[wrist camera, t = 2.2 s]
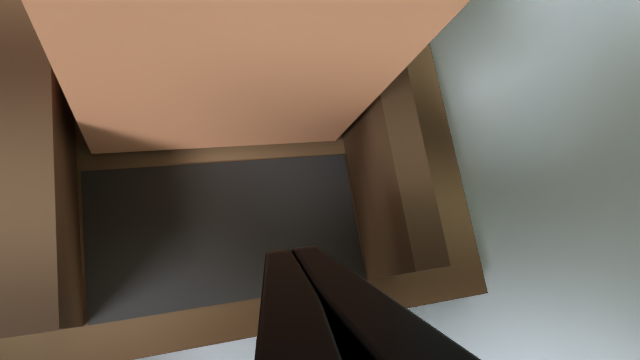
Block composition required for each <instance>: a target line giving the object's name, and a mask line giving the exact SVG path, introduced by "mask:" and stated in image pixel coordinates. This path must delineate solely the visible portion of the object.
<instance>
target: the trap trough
mask: <svg viewBox="0 0 640 360" xmlns="http://www.w3.org/2000/svg"><path fill="white" fill-rule="evenodd" d="M307 246H316V247H318V248H319V249H321V250H322V251H324V252H325V253H327V254H328V255H330V256H331V257H332V258H334V259H335V260H337V261H338V262H340V263H341V264H343V265H344V266H346V267H347V268H348V269H350V270H351V271H353V272H354V273H356V274H357V275H359V276H360V277H362V278H363V279H364V280H366V281H367V282H369V283H370V284H372V285H373V286H375V287H376V288H377V289H379V290H380V291H382V292H383V293H385V294H386V295H388V296H389V297H391V298H392V299H393V300H395V301H396V302H398V303H399V304H401V305H402V306H404V307H405V308H410V307H416V306H421V305H426V304H432V303H437V302H442V301H448V300H453V299H458V298H464V297H469V296H474V295H480V294H485V293H488V292H487V287H486V283H485V279H484V275H483V270H482V266H481V262H480V258H479V253H478V249H477V245H476V240H475V236H474V232H473V228H472V223H471V219H470V215H469V211H468V206H467V202H466V198H465V194H464V189H463V185H462V181H461V176H460V172H459V168H458V164H457V159H456V155H455V151H454V147H453V142H452V138H451V134H450V130H449V125H448V121H447V117H446V112H445V108H444V104H443V100H442V95H441V91H440V87H439V83H438V78H437V74H436V70H435V65H434V61H433V57H432V53H431V48H430V44H428V45H427V46H426V47H425V48H424V49H423V50H422V51H421V52H420V53H419V54H418V55H417V56H416V57H415V58H414V59H413V61H412V62H411V63H410V64H409V65H408V66H407V67H406V68H405V69H404V70H403V71H402V72H401V73H400V74H399V75H398V76H397V77H396V78H395V79H394V80H393V81H392V82H391V83H390V84H389V86H388V87H387V88H386V89H385V90H384V91H383V92H382V93H381V94H380V95H379V96H378V97H377V98H376V99H375V100H374V101H373V102H372V103H371V104H370V105H369V106H368V107H367V108H366V109H365V110H364V112H363V113H362V114H361V115H360V116H359V117H358V118H357V119H356V120H355V121H354V122H353V123H352V124H351V125H350V126H349V127H348V128H347V129H346V130H345V131H344V132H343V133H342V134H341V135H340V137H339V138H338V139H337V140H336V141H324V142H306V143H287V144H268V145H250V146H231V147H212V148H194V149H175V150H156V151H138V152H119V153H100V154H91V152H90V150H89V148H88V146H87V143H86V141H85V139H84V137H83V135H82V132H81V130H80V128H79V126H78V124H77V121H76V119H75V117H74V115H73V113H72V110H71V108H70V106H69V104H68V102H67V99H66V97H65V95H64V93H63V91H62V88H61V86H60V84H59V82H58V80H57V78H56V75H55V73H54V71H53V69H52V67H51V64H50V62H49V60H48V58H47V56H46V53H45V51H44V49H43V47H42V45H41V42H40V40H39V38H38V36H37V34H36V31H35V29H34V27H33V25H32V23H31V20H30V18H29V16H28V14H27V12H26V10H25V7H24V5H23V3H22V1H21V0H0V360H133V359H139V358H144V357H149V356H155V355H160V354H165V353H171V352H176V351H181V350H187V349H192V348H197V347H203V346H208V345H213V344H219V343H224V342H229V341H235V340H240V339H245V338H251V337H256V336H257V331H258V322H259V312H260V302H261V293H262V283H263V274H264V264H265V255H266V253H267V252H269V251H276V250H284V249H288V250H291V251H292V250H293V249H294V248H299V247H307Z"/></svg>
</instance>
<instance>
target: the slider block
mask: <svg viewBox="0 0 640 360" xmlns="http://www.w3.org/2000/svg"><path fill="white" fill-rule="evenodd" d="M21 1H22V3H23V5H24V7H25V10H26V12H27V14H28V16H29V18H30V20H31V23H32V25H33V27H34V29H35V31H36V34H37V36H38V38H39V40H40V42H41V45H42V47H43V49H44V51H45V53H46V56H47V58H48V60H49V62H50V64H51V67H52V69H53V71H54V73H55V75H56V78H57V80H58V82H59V84H60V86H61V88H62V91H63V93H64V95H65V97H66V99H67V102H68V104H69V106H70V108H71V110H72V113H73V115H74V117H75V119H76V121H77V124H78V126H79V128H80V130H81V132H82V135H83V137H84V139H85V141H86V143H87V146H88V148H89V150H90V152H91V154H100V153H119V152H138V151H156V150H175V149H194V148H212V147H231V146H250V145H268V144H287V143H306V142H324V141H336V140H337V139H338V138H339V137H340V135H341V134H342V133H343V132H344V131H345V130H346V129H347V128H348V127H349V126H350V125H351V124H352V123H353V122H354V121H355V120H356V119H357V118H358V117H359V116H360V115H361V114H362V113H363V112H364V110H365V109H366V108H367V107H368V106H369V105H370V104H371V103H372V102H373V101H374V100H375V99H376V98H377V97H378V96H379V95H380V94H381V93H382V92H383V91H384V90H385V89H386V88H387V87H388V86H389V84H390V83H391V82H392V81H393V80H394V79H395V78H396V77H397V76H398V75H399V74H400V73H401V72H402V71H403V70H404V69H405V68H406V67H407V66H408V65H409V64H410V63H411V62H412V61H413V59H414V58H415V57H416V56H417V55H418V54H419V53H420V52H421V51H422V50H423V49H424V48H425V47H426V46H427V45H428V44H429V43H430V42H431V41H432V40H433V39H434V38H435V37H436V36H437V34H438V33H439V32H440V31H441V30H442V29H443V28H444V27H445V26H446V25H447V24H448V23H449V22H450V21H451V20H452V19H453V18H454V17H455V16H456V15H457V14H458V13H459V12H460V11H461V9H462V8H463V7H464V6H465V5H466V4H467V3H468V2H469V1H470V0H21Z"/></svg>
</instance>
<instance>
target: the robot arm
mask: <svg viewBox="0 0 640 360" xmlns="http://www.w3.org/2000/svg"><path fill="white" fill-rule="evenodd" d="M255 360H481V359H479V358H478V357H476V356H475V355H473V354H472V353H470V352H469V351H467V350H466V349H465V348H463V347H462V346H460V345H459V344H457V343H456V342H454V341H453V340H452V339H450V338H449V337H447V336H446V335H444V334H443V333H441V332H440V331H438V330H437V329H436V328H434V327H433V326H431V325H430V324H428V323H427V322H425V321H424V320H422V319H421V318H420V317H418V316H417V315H415V314H414V313H412V312H411V311H409V310H408V309H407V308H405V307H404V306H402V305H401V304H399V303H398V302H396V301H395V300H393V299H392V298H391V297H389V296H388V295H386V294H385V293H383V292H382V291H380V290H379V289H377V288H376V287H375V286H373V285H372V284H370V283H369V282H367V281H366V280H364V279H363V278H362V277H360V276H359V275H357V274H356V273H354V272H353V271H351V270H350V269H348V268H347V267H346V266H344V265H343V264H341V263H340V262H338V261H337V260H335V259H334V258H332V257H331V256H330V255H328V254H327V253H325V252H324V251H322V250H321V249H319V248H318V247H316V246H307V247H299V248H294V249H293V250H292V251H291V250H288V249H284V250H276V251H269V252H267V253H266V255H265V264H264V274H263V283H262V293H261V302H260V312H259V322H258V331H257V341H256V351H255Z"/></svg>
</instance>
